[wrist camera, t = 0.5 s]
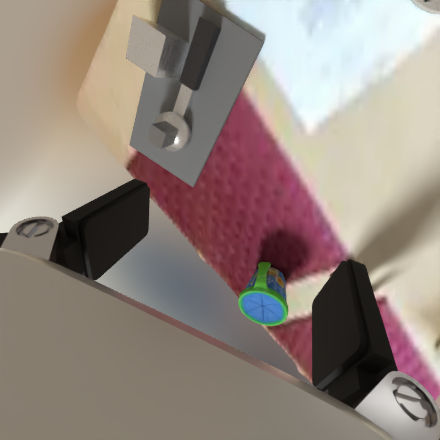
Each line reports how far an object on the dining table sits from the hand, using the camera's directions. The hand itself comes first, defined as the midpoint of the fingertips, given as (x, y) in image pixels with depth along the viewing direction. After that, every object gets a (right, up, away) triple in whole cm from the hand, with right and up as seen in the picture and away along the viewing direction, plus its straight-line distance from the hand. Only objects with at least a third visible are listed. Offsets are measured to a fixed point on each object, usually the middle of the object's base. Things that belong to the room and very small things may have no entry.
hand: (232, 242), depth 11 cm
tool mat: (-7, +23, +31) cm, 39 cm away
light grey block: (-9, +29, +27) cm, 41 cm away
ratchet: (-6, +23, +30) cm, 38 cm away
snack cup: (+12, -13, +45) cm, 49 cm away
